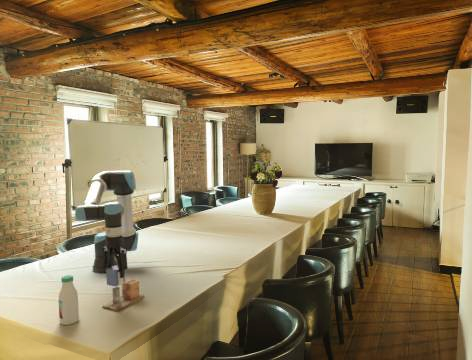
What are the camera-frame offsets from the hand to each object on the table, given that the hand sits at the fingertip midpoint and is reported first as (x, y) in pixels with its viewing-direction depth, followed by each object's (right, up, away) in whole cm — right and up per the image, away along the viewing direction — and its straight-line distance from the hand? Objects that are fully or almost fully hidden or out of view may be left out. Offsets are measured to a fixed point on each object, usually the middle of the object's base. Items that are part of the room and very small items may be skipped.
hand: (115, 283), depth 169 cm
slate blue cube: (0, 0, 0) cm, 0 cm away
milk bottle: (-16, -13, -13) cm, 24 cm away
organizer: (+2, -11, +6) cm, 13 cm away
